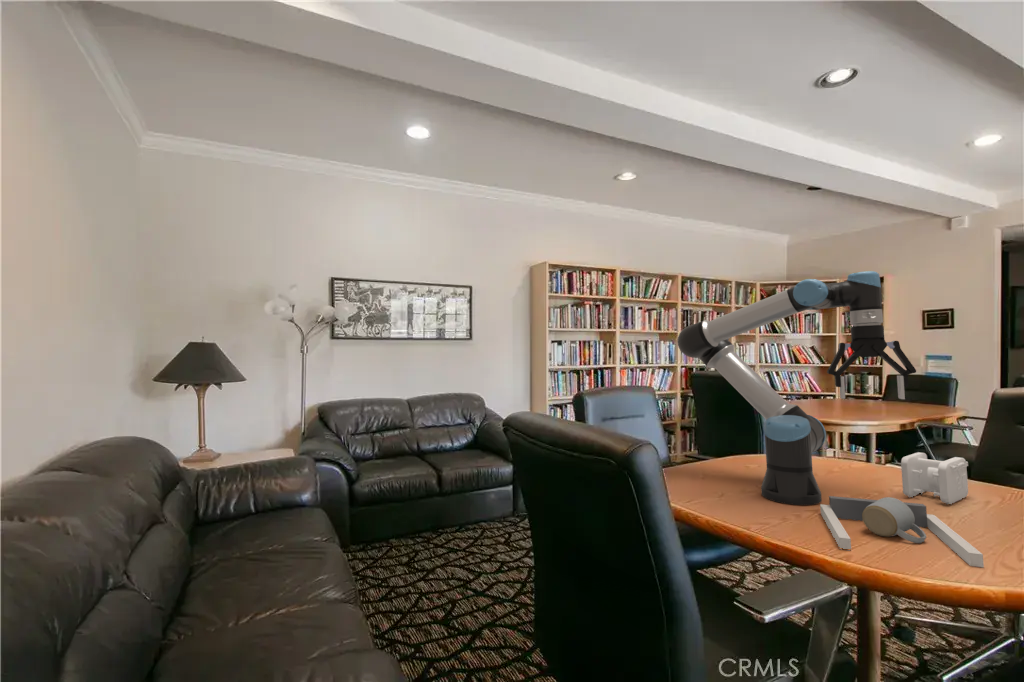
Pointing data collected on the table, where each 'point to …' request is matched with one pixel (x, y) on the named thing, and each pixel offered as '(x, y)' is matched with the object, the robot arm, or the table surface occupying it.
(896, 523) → the ceramic mug
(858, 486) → the table surface
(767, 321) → the robot arm
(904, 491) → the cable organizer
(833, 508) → the guide track
